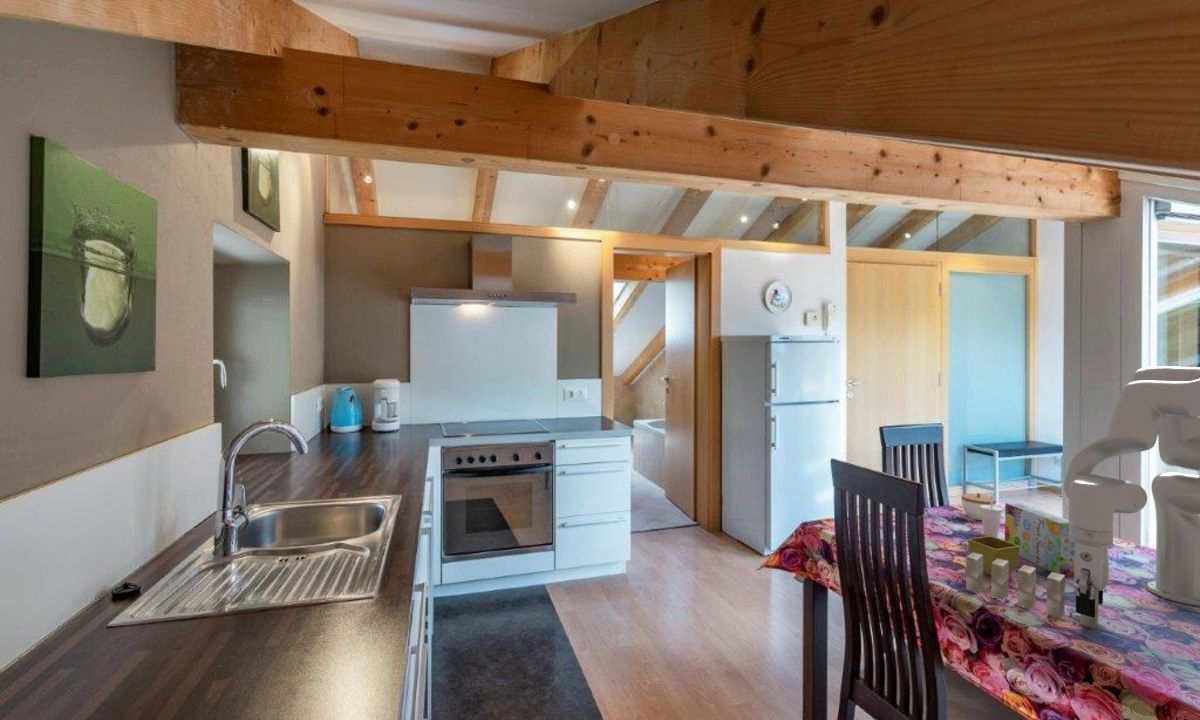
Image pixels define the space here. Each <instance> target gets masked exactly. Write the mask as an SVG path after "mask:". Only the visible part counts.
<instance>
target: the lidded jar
mask: <svg viewBox="0 0 1200 720" xmlns="http://www.w3.org/2000/svg"><path fill="white" fill-rule="evenodd" d="M996 503H997V499H996V498H994V497H993V506H996V507H997V505H996ZM981 505H991V496H990V495H989V496H988V495H984V494H981V493H980V492H976V494H975V493H964V494H962V495H961V507H962V510H963V511H964V513H965V514H966V515H967V516H968V518H970V519H972V520H978V521H982V515H981V510H980V506H981Z"/></svg>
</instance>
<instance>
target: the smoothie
mask: <svg viewBox="0 0 1200 720" xmlns="http://www.w3.org/2000/svg"><path fill="white" fill-rule="evenodd" d="M990 497H991V505H981V506H980V510H981V515H982V520H981V521H982V529H983V535H984V537H985V536H992V537H995V538H998V537H999V536H998V535H999V530H1000V523H1001V517H1002V513H1003V508H1001V506H1000V507H999V506H997V505H996V506H993V498H994V496H993V495H992V494H990Z"/></svg>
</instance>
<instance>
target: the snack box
mask: <svg viewBox="0 0 1200 720" xmlns="http://www.w3.org/2000/svg"><path fill="white" fill-rule="evenodd" d="M1004 507H1005V509H1004V516H1005V517H1004V518H1005V519H1004V541H1007V542H1010V543H1013V544H1015V545H1018V546H1020V549H1019V555H1018V557H1021V558H1023V559H1025V560H1027V561H1029V562H1031V563H1033V564H1035V565H1037V566H1039V567H1041V568H1043V569H1045V570H1048V571H1050V572H1051V573H1052V572H1054V573H1058V574H1062V575H1065V577H1074V547H1075V541H1073V540H1071V539H1070V538H1069V519H1067V518H1063V517H1062V516H1061V517H1060V516H1058V515H1055V514H1052V513H1049V512H1046V511H1043V510H1041V509H1039V508H1036V507H1033V506H1030V505H1027V504H1024V503H1020V502H1019V503H1017V502H1005V506H1004Z"/></svg>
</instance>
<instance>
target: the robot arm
mask: <svg viewBox="0 0 1200 720" xmlns="http://www.w3.org/2000/svg"><path fill="white" fill-rule="evenodd" d="M1157 440H1158V452H1159V453H1158V454H1159V458H1160V460H1161V461H1162V463H1164V464H1165V465H1167V466H1170V467H1174V468H1178V469H1184V470H1189V471H1196V472H1200V367H1194V366H1193V367H1192V366H1191V367H1190V366H1146V367H1142V368H1139V369H1137V370H1136V371H1134V373H1133V375H1132V381H1131V382H1129V383H1126V384H1125V385H1124V386H1122V389H1121V391H1120V394H1119V396H1118V399H1117V401H1116V404H1115V408H1114V410H1113V413H1112V416H1111V418H1110V422H1109V424H1108V426H1107V430H1106V432H1105V433H1104V434H1103V435H1102V436H1100V437H1098V438H1096V439H1094V440H1092V441H1091V442H1089V443H1088V444H1086V445H1085V446H1083V447H1082V448H1081V449H1079V450H1078V451H1077V452H1076V453H1075V455H1074V456H1073V457H1072V458H1071V460H1070V462H1069V463H1070V464H1069V465H1068V468H1067V471H1066V474H1065V477H1064V482H1063V489H1064V494H1065V495H1066V496H1067V498H1068V520H1069V538H1070V539H1071V540H1073V541H1075V547H1074V576H1073V579H1074V584H1076V585H1077V587H1076V594H1075V613H1076V614H1079V615H1080V614H1082V615H1086V616H1089V617H1093V618H1094V617H1095V599H1094V592H1095V588H1096V589H1099V592H1098V605H1103V603H1104V590H1105V589H1106V588H1107V586H1108V584H1109V582H1110V564H1109V561H1110V560H1109V547H1113V546H1114V514H1115V513H1116V514H1135V513H1137V512H1140V511H1142V510H1143V509H1144V508H1145V507H1146V504H1147V502H1148V494H1147V492H1146V490H1145V488H1144V487H1142V486H1141V485H1139V484H1138V483H1135V482H1134V481H1129V480H1125V479H1121V478H1114V477H1109V476H1106V475H1099V474H1093V473H1092V472H1093V471H1094V470H1095V468H1096V467H1097V466H1098V465H1100V464H1101V463H1102V462H1105V461H1107V460H1110V459H1112V458H1116V457H1120V456H1125V455H1129V454H1135V453H1141V452H1146V451H1149V450H1152V448H1154V447H1155V445H1156V442H1157ZM1150 487H1151V493H1152V498H1153V503H1154V507H1155V516H1156V518H1155V521H1156V522H1155V523H1156V525H1155V526H1156V527H1155V528H1156V532H1155V533H1156V534H1155V539H1156V540H1155V580H1153V581H1148V582H1147V585H1146V586H1147V588H1146V589H1148V591H1150V592H1151V593H1153V594H1154V595H1157V596H1159V597H1162V598H1164V599H1167V600H1170V601H1172V602H1176V603H1181V604H1184V605H1185V604H1186V605H1190V606H1196V607H1200V474H1191V473H1184V472H1178V471H1177V472H1176V471H1175V472H1174V471H1168V472H1162V473H1159V474H1157V475H1155V476H1154V478H1152V481H1151V486H1150ZM1089 584H1092V585H1089ZM1087 588H1088V589H1087ZM1089 589H1091V591H1089Z"/></svg>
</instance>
